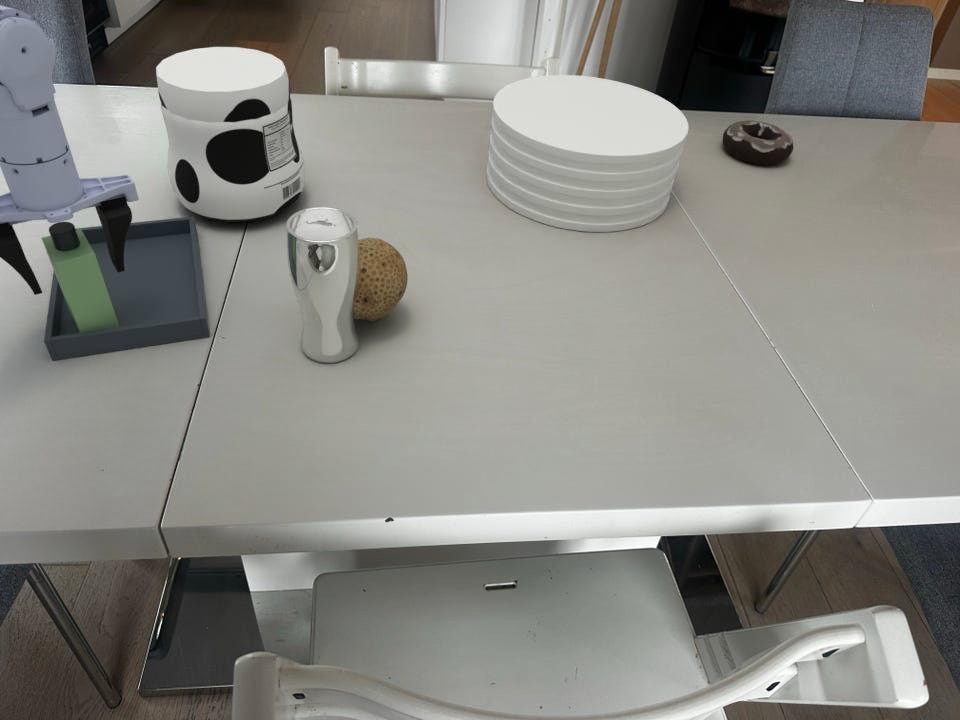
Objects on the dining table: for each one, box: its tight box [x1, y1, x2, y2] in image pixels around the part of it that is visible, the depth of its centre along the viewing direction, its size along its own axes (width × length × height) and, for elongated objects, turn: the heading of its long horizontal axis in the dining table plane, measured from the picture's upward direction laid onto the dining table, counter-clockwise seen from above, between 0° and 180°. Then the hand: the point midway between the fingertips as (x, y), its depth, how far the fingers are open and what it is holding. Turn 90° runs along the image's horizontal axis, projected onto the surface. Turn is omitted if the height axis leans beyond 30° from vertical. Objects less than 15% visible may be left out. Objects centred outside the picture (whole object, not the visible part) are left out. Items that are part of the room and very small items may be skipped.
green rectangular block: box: [41, 221, 119, 333], centre depth 72 cm, size 4×5×12 cm
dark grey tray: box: [43, 216, 211, 361], centre depth 81 cm, size 15×21×3 cm
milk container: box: [155, 46, 306, 223], centre depth 92 cm, size 17×17×18 cm
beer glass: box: [285, 206, 360, 364], centre depth 72 cm, size 7×7×15 cm
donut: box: [722, 119, 794, 166], centre depth 121 cm, size 12×12×4 cm
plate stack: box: [486, 74, 690, 233], centre depth 105 cm, size 28×28×12 cm
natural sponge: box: [354, 237, 408, 322], centre depth 77 cm, size 9×9×10 cm
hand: (78, 277), depth 71 cm, fingers open, 7 cm apart
